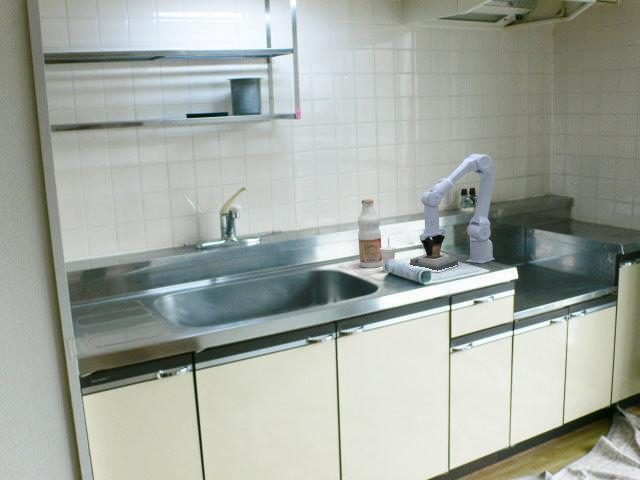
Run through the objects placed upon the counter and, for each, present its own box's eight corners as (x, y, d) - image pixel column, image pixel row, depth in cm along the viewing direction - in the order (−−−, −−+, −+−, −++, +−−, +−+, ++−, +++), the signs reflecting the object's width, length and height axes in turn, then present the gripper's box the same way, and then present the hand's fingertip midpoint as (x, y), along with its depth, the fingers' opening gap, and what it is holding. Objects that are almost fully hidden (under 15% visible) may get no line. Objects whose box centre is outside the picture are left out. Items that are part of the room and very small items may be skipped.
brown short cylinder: (432, 257, 281) (432, 242, 280) (442, 258, 278) (442, 243, 277) (425, 259, 278) (424, 244, 277) (435, 261, 274) (435, 246, 273)
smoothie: (391, 273, 273) (389, 239, 271) (378, 272, 277) (376, 238, 274) (399, 270, 278) (398, 236, 276) (386, 268, 282) (384, 235, 279)
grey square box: (430, 262, 288) (429, 251, 288) (458, 265, 278) (457, 254, 278) (409, 269, 279) (408, 258, 278) (437, 273, 269) (437, 261, 268)
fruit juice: (355, 266, 291) (351, 200, 286) (372, 262, 296) (368, 198, 291) (369, 269, 283) (365, 202, 278) (387, 265, 288) (383, 199, 283)
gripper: (429, 225, 267) (430, 258, 270) (450, 219, 277) (451, 251, 280) (414, 223, 272) (416, 257, 275) (436, 218, 282) (437, 250, 285)
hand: (433, 254), depth 278 cm, fingers closed on brown short cylinder, 5 cm apart
